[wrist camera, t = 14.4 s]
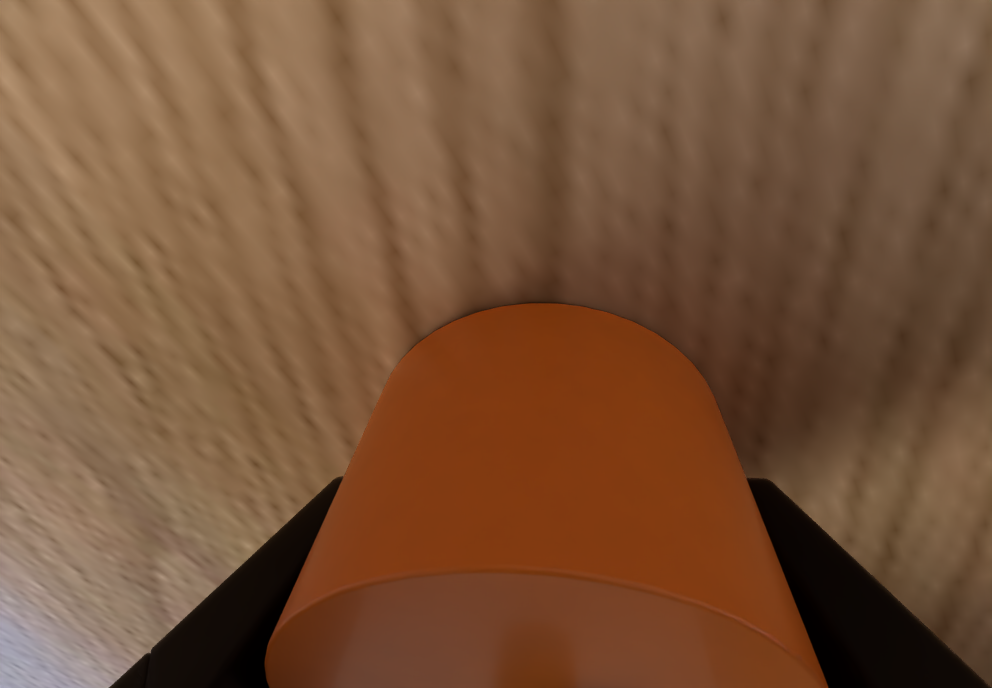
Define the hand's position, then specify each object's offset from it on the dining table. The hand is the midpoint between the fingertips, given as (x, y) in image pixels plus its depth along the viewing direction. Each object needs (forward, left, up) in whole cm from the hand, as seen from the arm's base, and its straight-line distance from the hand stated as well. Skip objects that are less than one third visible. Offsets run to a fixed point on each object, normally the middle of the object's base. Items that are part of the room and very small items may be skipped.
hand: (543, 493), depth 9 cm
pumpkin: (0, 0, -1) cm, 1 cm away
